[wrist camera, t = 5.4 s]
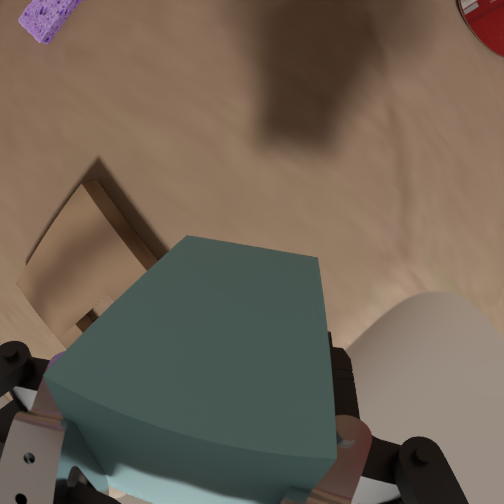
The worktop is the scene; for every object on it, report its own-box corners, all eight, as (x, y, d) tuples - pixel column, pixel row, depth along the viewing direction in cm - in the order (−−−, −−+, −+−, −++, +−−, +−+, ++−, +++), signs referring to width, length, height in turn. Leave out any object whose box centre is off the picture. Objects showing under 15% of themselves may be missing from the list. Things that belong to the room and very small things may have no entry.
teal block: (317, 257, 11) (337, 458, 3) (292, 359, 13) (274, 530, 5) (186, 235, 11) (43, 375, 4) (184, 337, 13) (105, 483, 6)
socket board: (262, 376, 25) (259, 392, 23) (154, 415, 30) (149, 427, 28) (96, 179, 21) (81, 183, 19) (27, 276, 26) (16, 283, 24)
